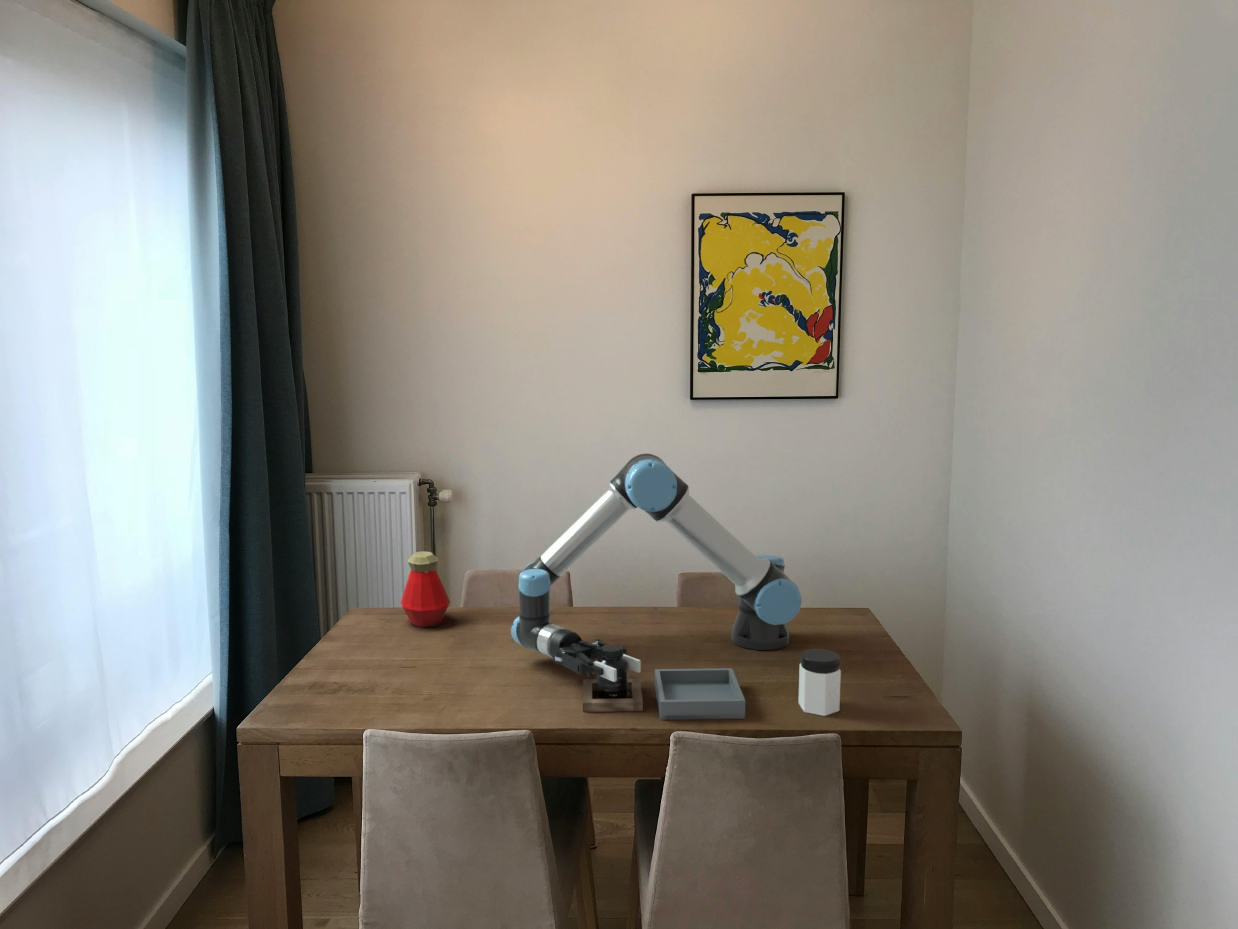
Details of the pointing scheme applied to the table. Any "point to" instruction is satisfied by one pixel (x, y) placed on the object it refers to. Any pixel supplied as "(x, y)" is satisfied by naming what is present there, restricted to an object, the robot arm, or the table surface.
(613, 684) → the supplement bottle
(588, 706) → the socket collar
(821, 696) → the jar
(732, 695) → the bin
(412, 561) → the bottle
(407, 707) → the table surface
